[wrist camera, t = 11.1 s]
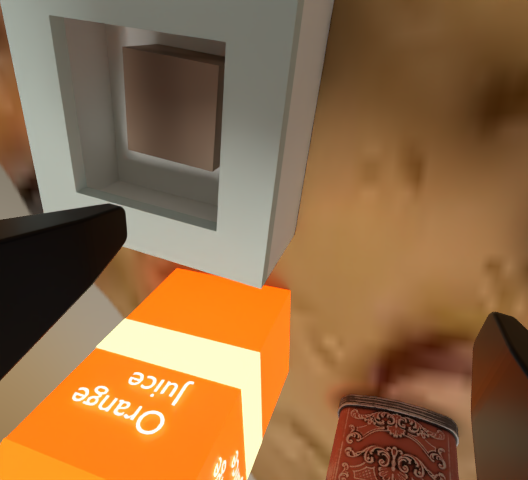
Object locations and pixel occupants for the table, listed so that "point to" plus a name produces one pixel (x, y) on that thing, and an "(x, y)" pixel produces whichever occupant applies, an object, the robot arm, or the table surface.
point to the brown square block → (174, 103)
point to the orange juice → (165, 390)
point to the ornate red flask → (392, 442)
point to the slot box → (160, 170)
